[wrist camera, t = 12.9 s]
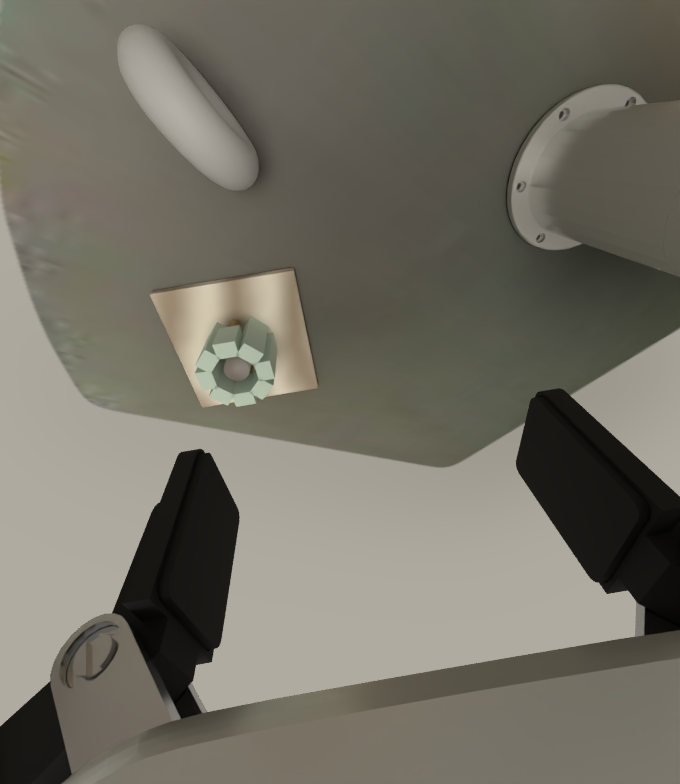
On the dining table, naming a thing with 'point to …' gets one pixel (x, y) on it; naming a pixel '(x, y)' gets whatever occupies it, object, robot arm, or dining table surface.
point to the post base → (235, 307)
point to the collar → (245, 345)
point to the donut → (186, 108)
